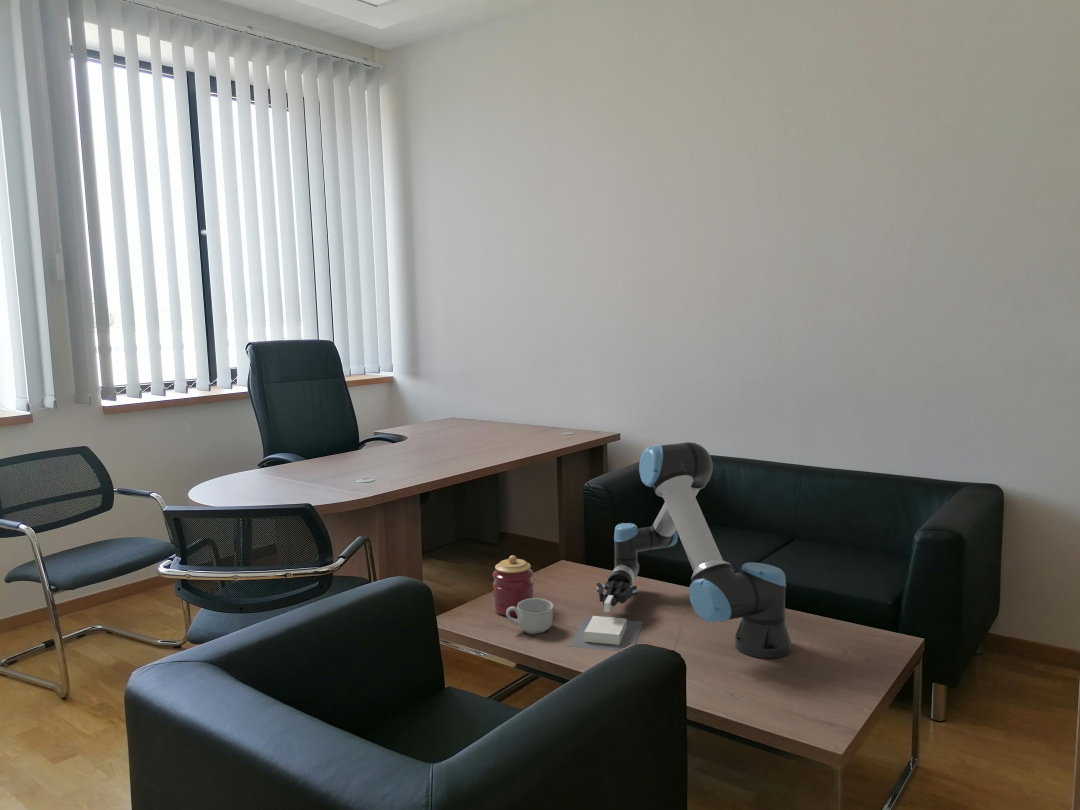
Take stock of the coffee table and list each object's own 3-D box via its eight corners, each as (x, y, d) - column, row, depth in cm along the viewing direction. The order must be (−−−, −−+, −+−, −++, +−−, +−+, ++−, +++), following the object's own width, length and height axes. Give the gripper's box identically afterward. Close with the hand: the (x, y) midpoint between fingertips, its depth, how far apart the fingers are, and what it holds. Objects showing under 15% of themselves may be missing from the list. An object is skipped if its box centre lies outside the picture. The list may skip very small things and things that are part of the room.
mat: (585, 618, 243) (585, 616, 243) (643, 623, 238) (643, 621, 238) (568, 647, 222) (568, 645, 222) (631, 653, 217) (631, 652, 217)
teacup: (555, 623, 239) (554, 598, 238) (552, 638, 229) (551, 611, 228) (509, 622, 241) (508, 597, 240) (504, 637, 230) (503, 610, 229)
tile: (593, 615, 235) (584, 631, 224) (626, 618, 232) (619, 634, 221) (593, 626, 235) (584, 642, 224) (626, 629, 233) (619, 645, 221)
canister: (525, 619, 243) (523, 563, 241) (486, 614, 248) (485, 559, 246) (540, 604, 255) (539, 551, 253) (503, 600, 260) (502, 547, 258)
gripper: (641, 593, 251) (628, 621, 229) (601, 590, 255) (584, 617, 232) (641, 570, 251) (628, 596, 228) (600, 568, 254) (584, 593, 232)
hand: (606, 607), depth 230 cm, fingers closed
